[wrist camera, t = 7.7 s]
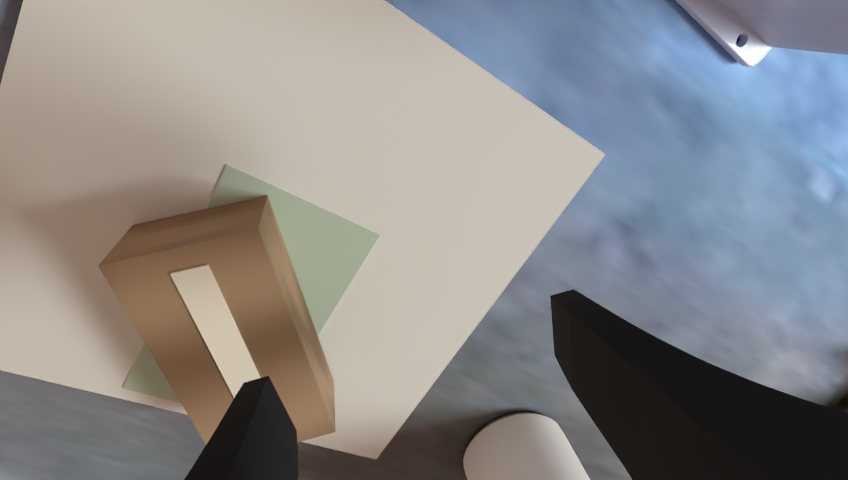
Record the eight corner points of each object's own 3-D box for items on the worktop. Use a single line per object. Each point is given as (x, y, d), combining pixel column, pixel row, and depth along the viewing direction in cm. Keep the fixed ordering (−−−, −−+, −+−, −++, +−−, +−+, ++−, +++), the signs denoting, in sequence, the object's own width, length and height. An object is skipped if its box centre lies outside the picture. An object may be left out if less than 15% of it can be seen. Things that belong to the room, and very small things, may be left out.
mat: (598, 150, 20) (606, 155, 20) (375, 450, 26) (376, 461, 25) (91, -203, 12) (79, -214, 12) (-62, 342, 18) (-75, 354, 18)
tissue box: (333, 381, 22) (335, 433, 20) (230, 409, 22) (217, 466, 19) (267, 195, 17) (257, 230, 15) (132, 224, 17) (96, 267, 14)
